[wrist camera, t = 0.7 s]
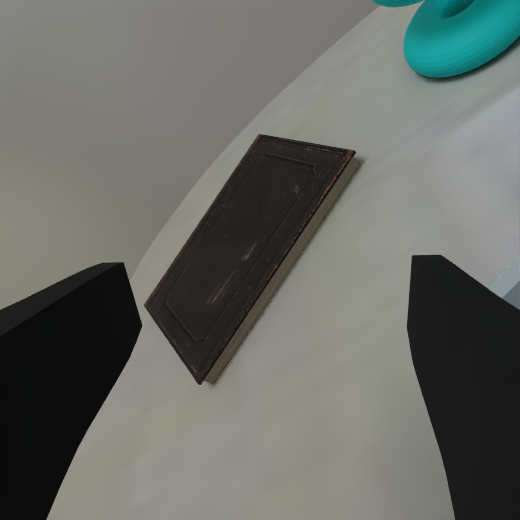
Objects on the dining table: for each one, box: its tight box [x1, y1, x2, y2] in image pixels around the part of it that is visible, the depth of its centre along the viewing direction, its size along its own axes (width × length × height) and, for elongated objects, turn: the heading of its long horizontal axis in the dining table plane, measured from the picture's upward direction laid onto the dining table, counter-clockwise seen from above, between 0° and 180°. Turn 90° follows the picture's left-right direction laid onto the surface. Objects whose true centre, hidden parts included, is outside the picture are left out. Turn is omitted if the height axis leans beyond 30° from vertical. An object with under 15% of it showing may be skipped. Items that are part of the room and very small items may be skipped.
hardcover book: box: [144, 134, 360, 385], centre depth 41 cm, size 16×23×2 cm
